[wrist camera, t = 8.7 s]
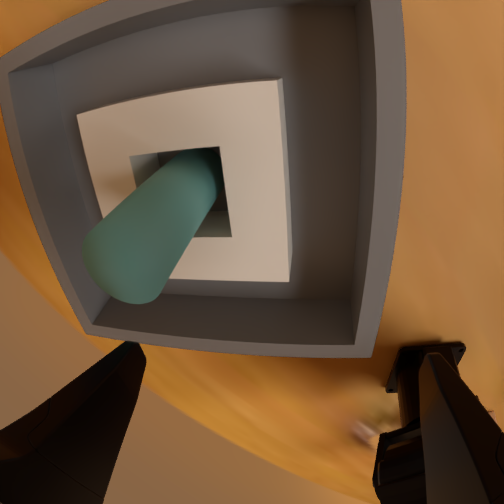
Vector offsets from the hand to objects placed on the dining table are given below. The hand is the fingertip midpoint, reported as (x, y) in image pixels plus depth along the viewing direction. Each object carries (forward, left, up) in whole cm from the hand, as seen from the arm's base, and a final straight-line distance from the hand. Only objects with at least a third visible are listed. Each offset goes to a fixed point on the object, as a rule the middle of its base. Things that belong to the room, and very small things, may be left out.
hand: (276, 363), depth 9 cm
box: (+2, +5, -12) cm, 13 cm away
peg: (+2, +5, -11) cm, 12 cm away
